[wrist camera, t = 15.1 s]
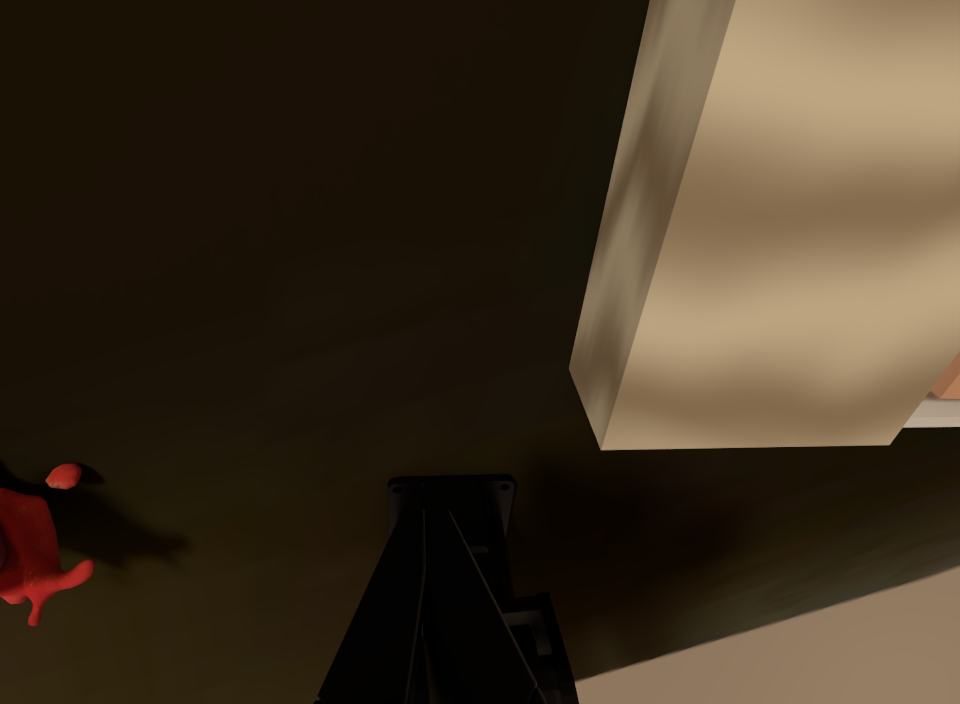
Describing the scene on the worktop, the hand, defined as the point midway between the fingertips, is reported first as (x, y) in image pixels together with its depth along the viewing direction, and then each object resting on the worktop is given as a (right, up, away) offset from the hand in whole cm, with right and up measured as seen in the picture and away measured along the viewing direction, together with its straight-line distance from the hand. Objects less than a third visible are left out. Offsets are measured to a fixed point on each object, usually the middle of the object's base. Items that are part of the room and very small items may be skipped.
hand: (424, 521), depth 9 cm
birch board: (+12, +10, +9) cm, 18 cm away
